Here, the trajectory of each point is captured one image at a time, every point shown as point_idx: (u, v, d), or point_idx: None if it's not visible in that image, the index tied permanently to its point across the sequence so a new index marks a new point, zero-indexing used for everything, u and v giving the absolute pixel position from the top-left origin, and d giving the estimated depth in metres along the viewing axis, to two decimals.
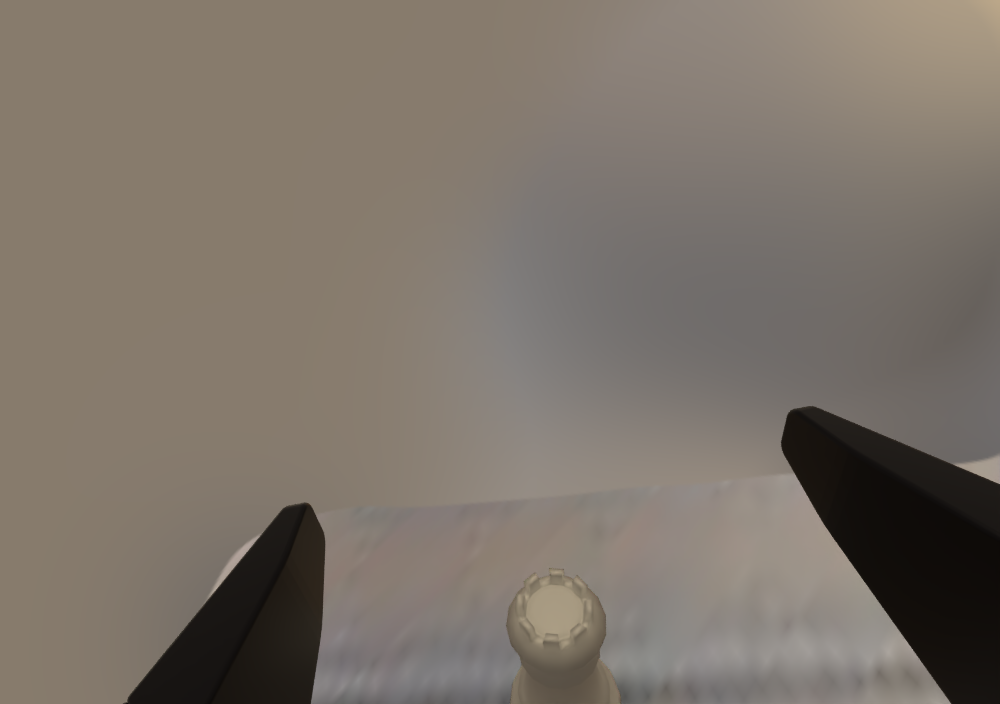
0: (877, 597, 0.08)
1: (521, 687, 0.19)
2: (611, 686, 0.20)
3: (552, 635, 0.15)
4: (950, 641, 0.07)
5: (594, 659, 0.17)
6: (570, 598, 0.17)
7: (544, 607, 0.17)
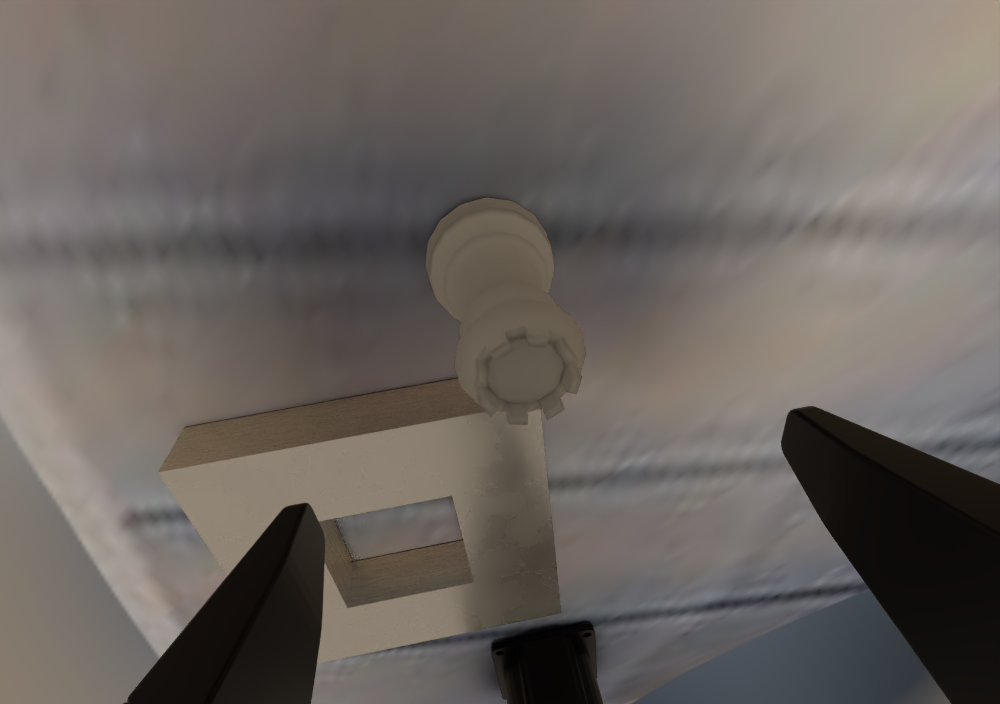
0: (877, 597, 0.08)
1: (447, 286, 0.16)
2: (549, 271, 0.17)
3: (521, 416, 0.12)
4: (950, 641, 0.07)
5: None
6: (550, 361, 0.12)
7: (512, 373, 0.12)
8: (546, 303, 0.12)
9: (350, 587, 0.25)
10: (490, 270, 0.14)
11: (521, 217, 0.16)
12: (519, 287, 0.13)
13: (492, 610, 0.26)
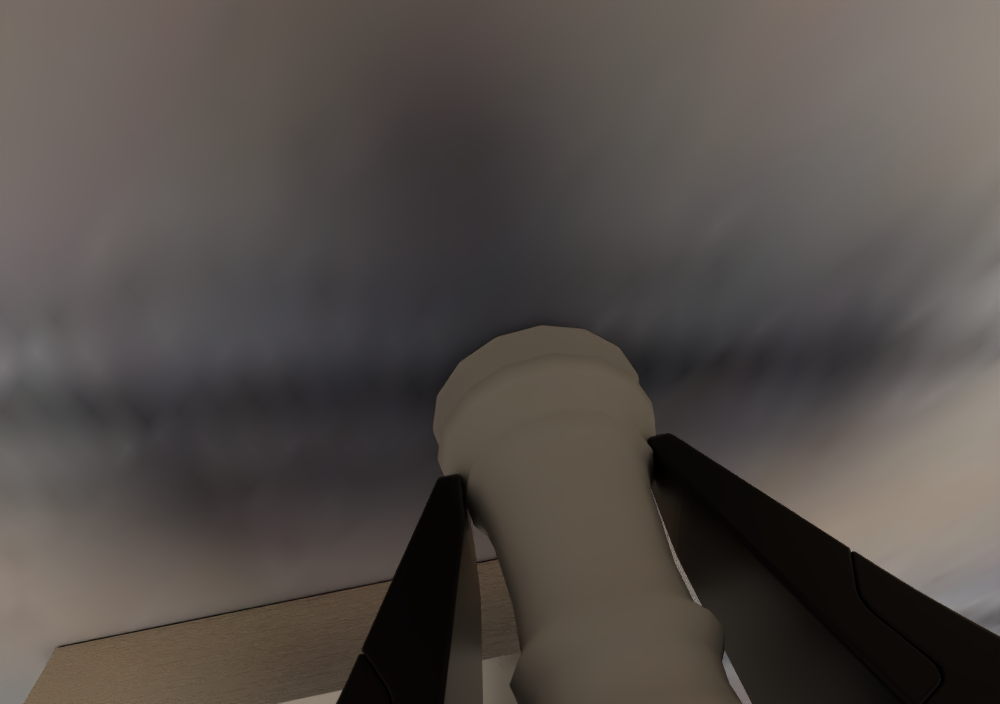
0: None
1: (474, 501, 0.09)
2: None
3: None
4: (765, 682, 0.07)
5: None
6: None
7: None
8: None
9: None
10: (569, 519, 0.07)
11: (607, 370, 0.09)
12: (650, 613, 0.06)
13: None
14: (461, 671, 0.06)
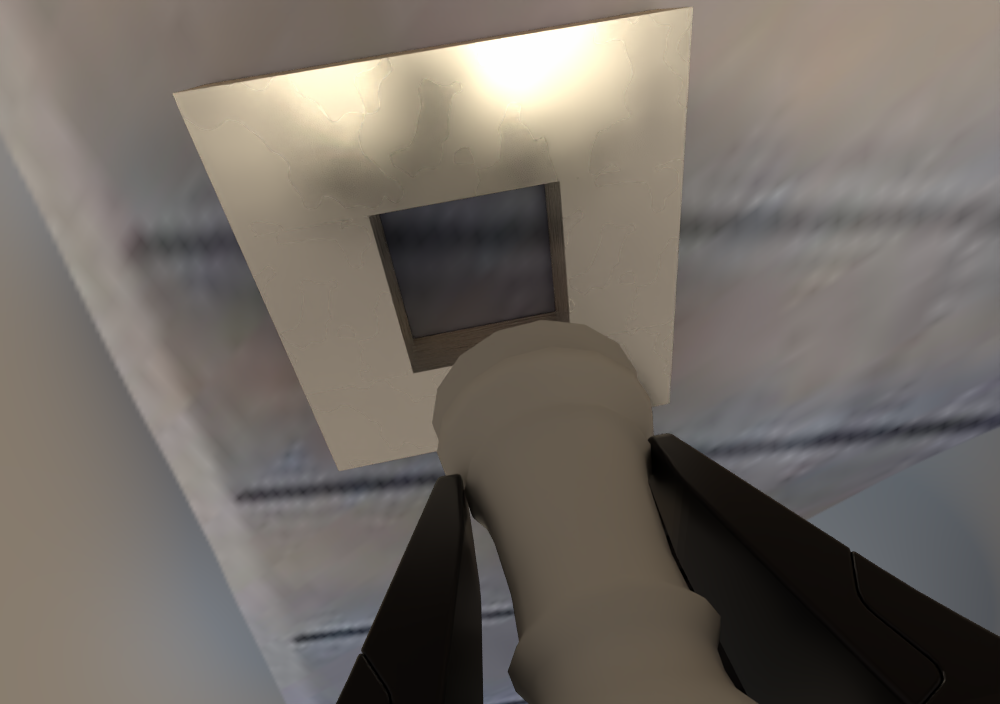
0: None
1: (473, 492, 0.09)
2: None
3: None
4: (765, 682, 0.07)
5: None
6: None
7: None
8: None
9: (413, 357, 0.20)
10: (568, 509, 0.07)
11: (607, 364, 0.09)
12: (648, 600, 0.06)
13: None
14: (461, 671, 0.06)
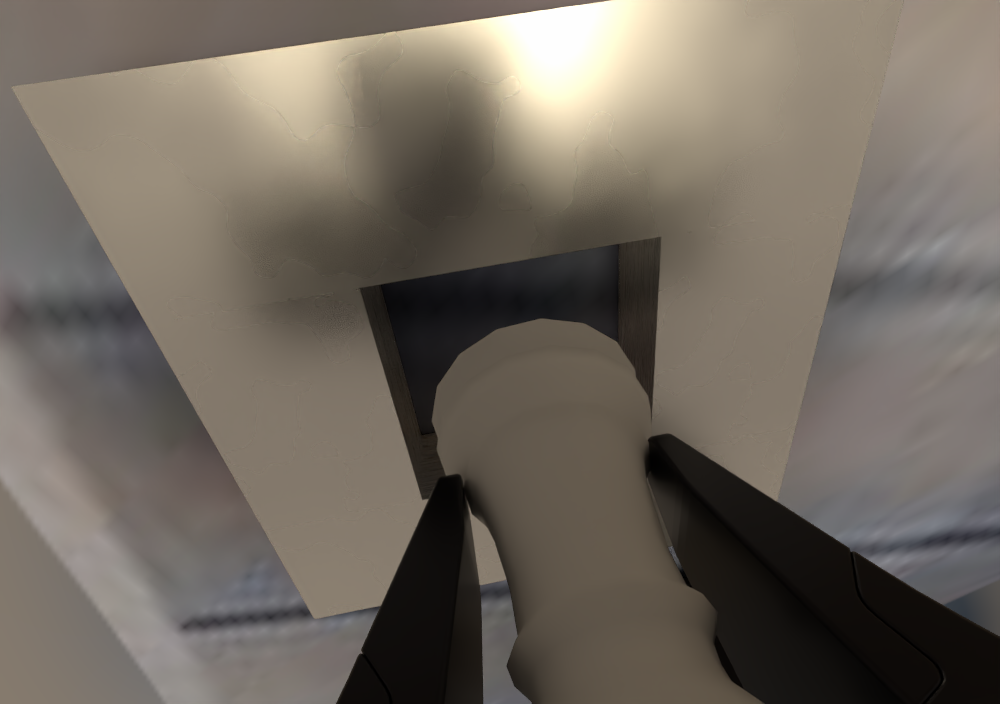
0: None
1: (472, 489, 0.09)
2: None
3: None
4: (765, 682, 0.07)
5: None
6: None
7: None
8: None
9: (422, 470, 0.14)
10: (566, 505, 0.07)
11: (606, 363, 0.09)
12: (646, 594, 0.06)
13: None
14: (461, 671, 0.06)
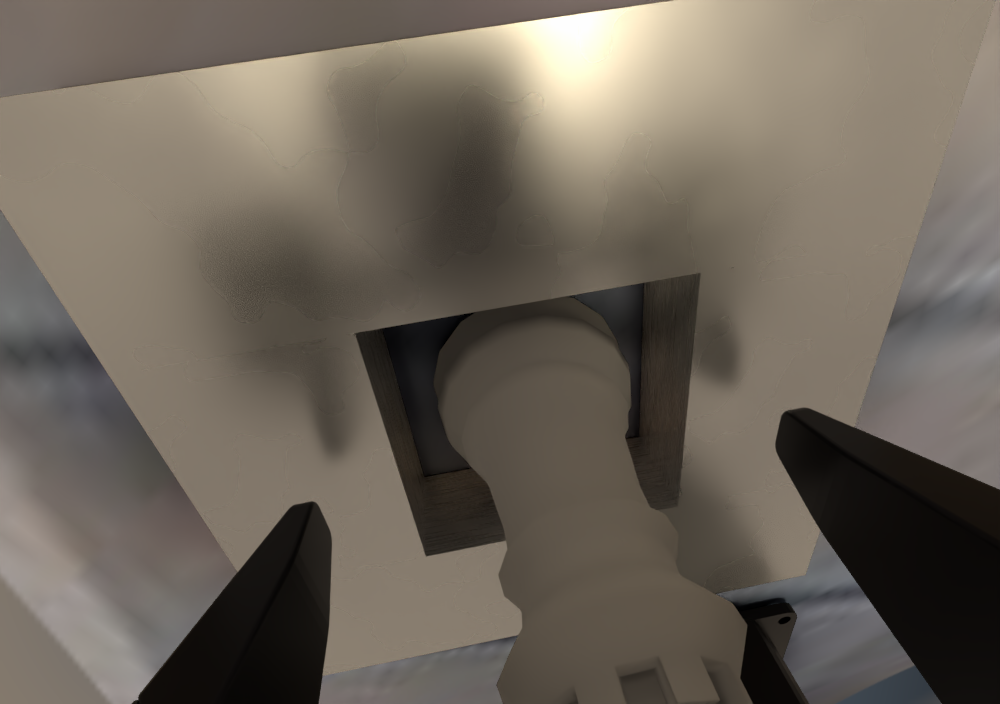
0: (870, 599, 0.08)
1: (470, 439, 0.10)
2: None
3: None
4: (942, 643, 0.07)
5: None
6: None
7: None
8: (695, 594, 0.06)
9: (426, 519, 0.13)
10: (553, 445, 0.08)
11: (591, 331, 0.10)
12: (617, 510, 0.07)
13: (692, 567, 0.13)
14: None
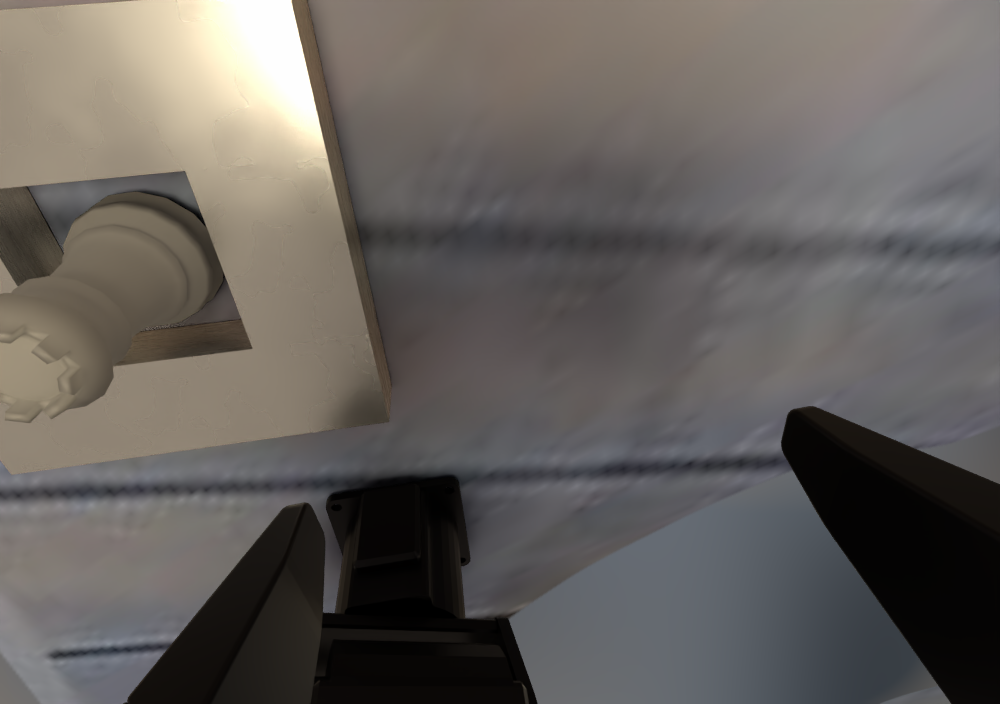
0: (877, 597, 0.08)
1: None
2: (194, 272, 0.17)
3: (17, 414, 0.12)
4: (950, 641, 0.07)
5: (123, 349, 0.14)
6: (40, 359, 0.12)
7: None
8: (37, 299, 0.11)
9: None
10: (71, 263, 0.14)
11: (157, 214, 0.16)
12: (60, 282, 0.13)
13: (289, 404, 0.19)
14: None
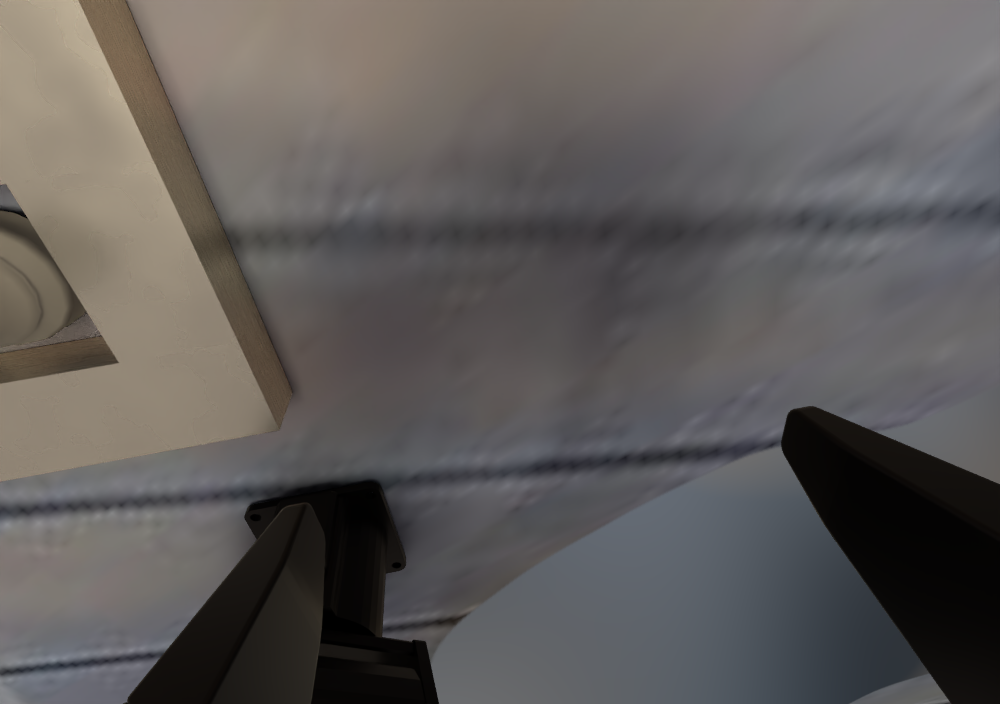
0: (878, 597, 0.08)
1: None
2: (46, 288, 0.16)
3: None
4: (950, 641, 0.07)
5: None
6: None
7: None
8: None
9: None
10: None
11: None
12: None
13: (170, 417, 0.19)
14: None
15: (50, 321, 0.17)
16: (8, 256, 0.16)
